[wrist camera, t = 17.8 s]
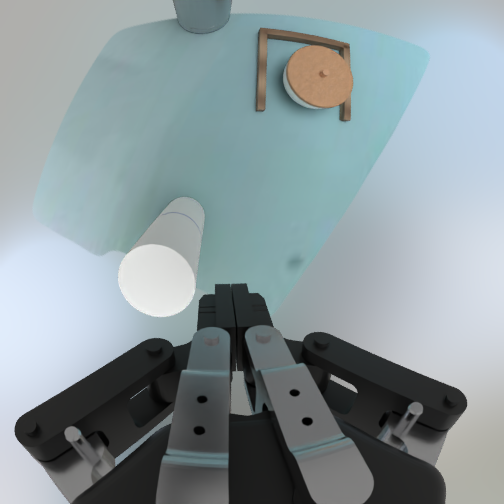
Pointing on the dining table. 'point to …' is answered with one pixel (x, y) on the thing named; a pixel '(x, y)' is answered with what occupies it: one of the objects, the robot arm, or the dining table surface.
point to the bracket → (301, 38)
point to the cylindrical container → (165, 261)
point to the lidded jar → (317, 78)
